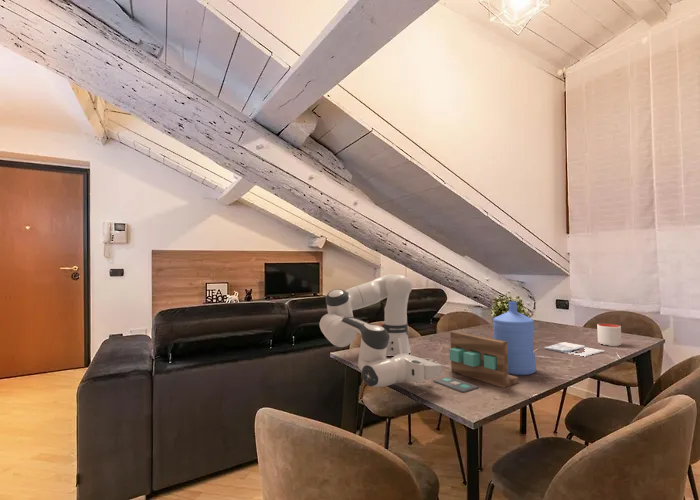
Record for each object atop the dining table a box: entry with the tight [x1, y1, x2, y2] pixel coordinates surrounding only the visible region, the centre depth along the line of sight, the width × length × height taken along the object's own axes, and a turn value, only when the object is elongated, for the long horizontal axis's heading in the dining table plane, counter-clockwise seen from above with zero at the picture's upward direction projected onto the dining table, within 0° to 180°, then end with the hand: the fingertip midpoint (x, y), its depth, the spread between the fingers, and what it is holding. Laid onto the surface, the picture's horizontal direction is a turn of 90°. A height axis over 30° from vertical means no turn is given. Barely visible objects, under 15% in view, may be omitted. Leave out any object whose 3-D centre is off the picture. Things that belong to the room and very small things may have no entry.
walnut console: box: [449, 330, 519, 388], centre depth 143 cm, size 9×24×16 cm, turn 33°
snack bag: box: [543, 341, 607, 358], centre depth 179 cm, size 19×20×2 cm
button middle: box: [463, 350, 481, 367], centre depth 140 cm, size 7×4×4 cm, turn 123°
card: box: [433, 375, 479, 394], centre depth 134 cm, size 8×14×1 cm, turn 33°
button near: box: [484, 354, 497, 370], centre depth 136 cm, size 7×4×4 cm, turn 123°
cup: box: [596, 323, 622, 347], centre depth 189 cm, size 10×10×10 cm
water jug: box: [492, 300, 537, 376], centre depth 151 cm, size 16×16×28 cm
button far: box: [448, 347, 466, 363], centre depth 146 cm, size 7×4×4 cm, turn 123°
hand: (432, 361), depth 137 cm, fingers closed
